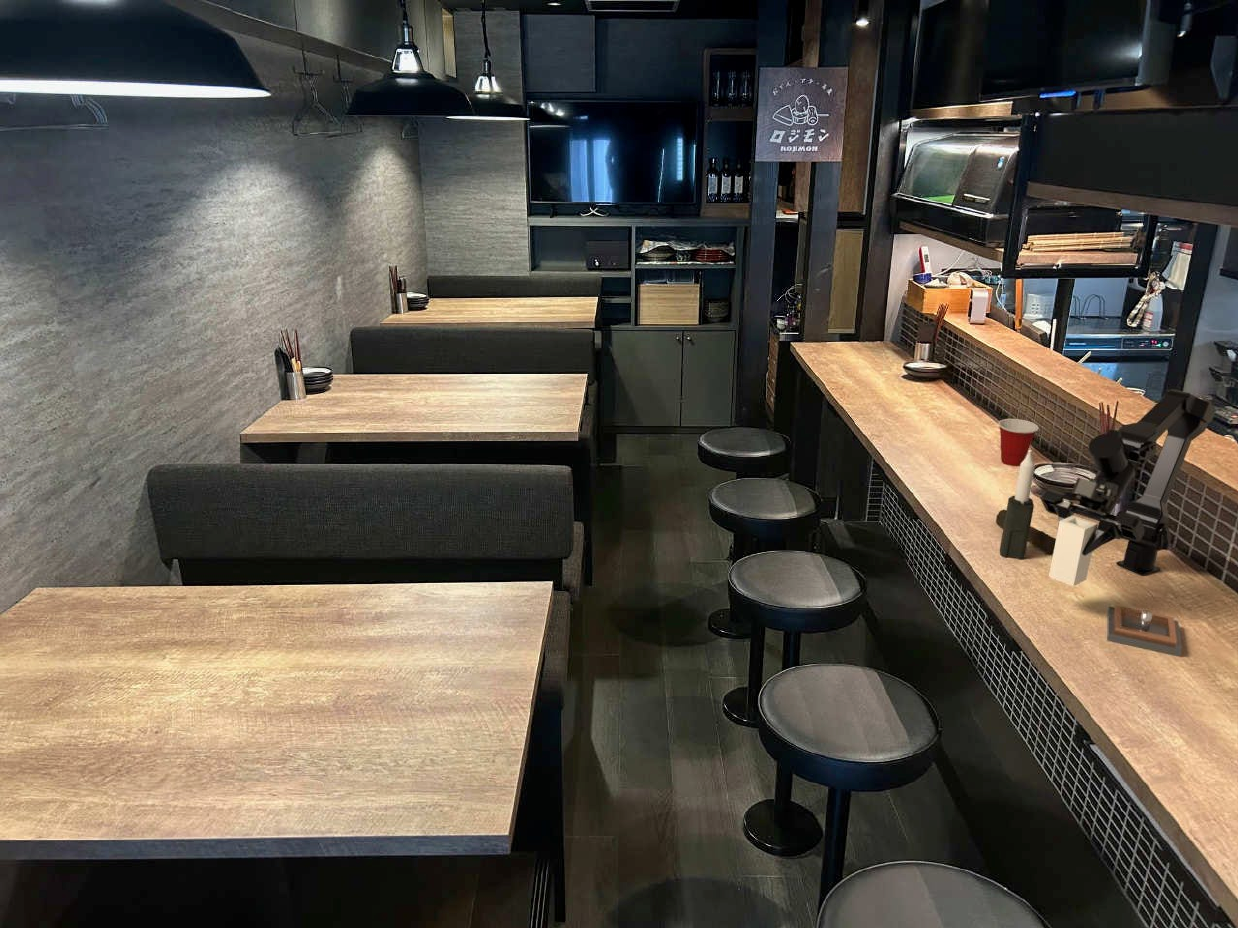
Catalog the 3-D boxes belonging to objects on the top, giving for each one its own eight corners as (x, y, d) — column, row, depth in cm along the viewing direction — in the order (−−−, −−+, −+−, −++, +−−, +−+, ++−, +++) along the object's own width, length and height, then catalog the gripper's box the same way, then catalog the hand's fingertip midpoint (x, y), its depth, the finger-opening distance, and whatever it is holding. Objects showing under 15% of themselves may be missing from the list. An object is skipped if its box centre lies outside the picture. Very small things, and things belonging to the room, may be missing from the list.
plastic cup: (991, 466, 266) (998, 426, 262) (992, 455, 276) (998, 416, 272) (1032, 471, 263) (1039, 431, 259) (1031, 460, 272) (1038, 421, 268)
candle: (1023, 551, 211) (1042, 447, 202) (1024, 560, 206) (1044, 454, 198) (999, 547, 212) (1017, 444, 204) (1000, 556, 208) (1018, 451, 199)
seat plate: (1107, 613, 183) (1111, 592, 182) (1176, 627, 178) (1181, 607, 177) (1107, 640, 173) (1111, 619, 172) (1180, 656, 168) (1185, 634, 167)
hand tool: (1061, 554, 210) (1065, 536, 208) (1046, 556, 209) (1050, 537, 207) (1005, 523, 227) (1008, 505, 225) (991, 525, 226) (994, 507, 224)
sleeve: (1061, 570, 185) (1072, 515, 181) (1086, 579, 182) (1098, 523, 178) (1048, 576, 182) (1059, 521, 178) (1073, 586, 179) (1085, 529, 175)
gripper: (1053, 450, 184) (1014, 513, 181) (1150, 477, 170) (1109, 546, 167) (1066, 479, 191) (1029, 540, 188) (1160, 507, 177) (1121, 574, 174)
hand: (1070, 549), depth 179 cm, fingers closed on sleeve, 5 cm apart
